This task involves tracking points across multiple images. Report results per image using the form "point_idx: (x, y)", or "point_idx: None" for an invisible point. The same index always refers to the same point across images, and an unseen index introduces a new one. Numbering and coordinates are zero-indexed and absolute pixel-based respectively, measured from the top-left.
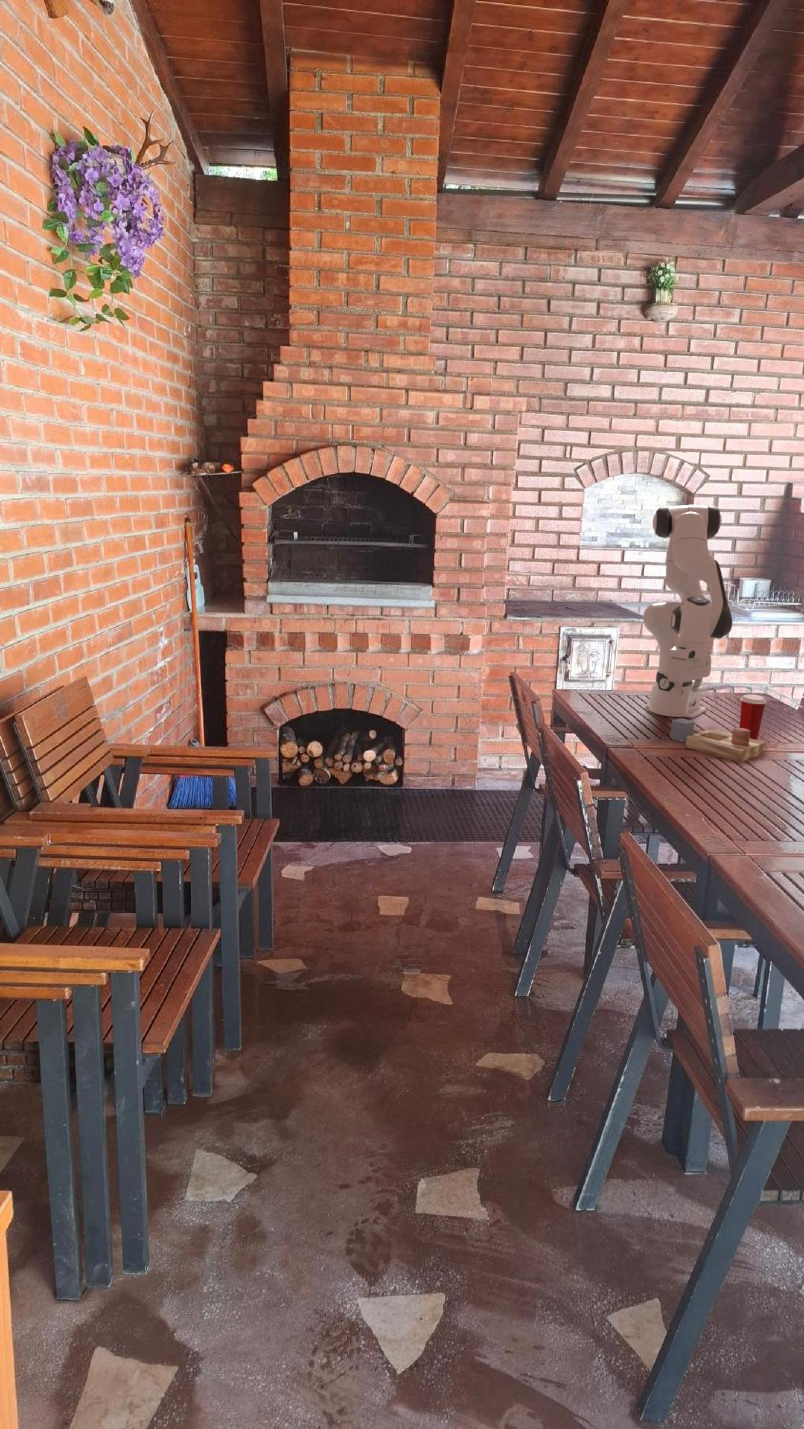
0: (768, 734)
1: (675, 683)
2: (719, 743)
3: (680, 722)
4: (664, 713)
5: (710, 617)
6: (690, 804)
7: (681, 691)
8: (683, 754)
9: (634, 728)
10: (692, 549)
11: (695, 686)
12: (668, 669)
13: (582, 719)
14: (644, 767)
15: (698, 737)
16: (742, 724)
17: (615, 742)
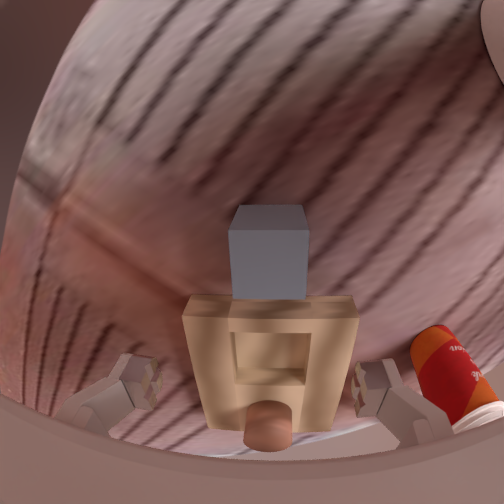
0: (492, 340)
1: (66, 412)
2: (213, 391)
3: (231, 272)
4: (492, 47)
5: None
6: (20, 388)
7: (131, 400)
8: (133, 318)
9: (239, 40)
10: None
11: (372, 405)
12: None
13: None
14: (15, 302)
15: (208, 341)
16: (426, 371)
17: (47, 142)
